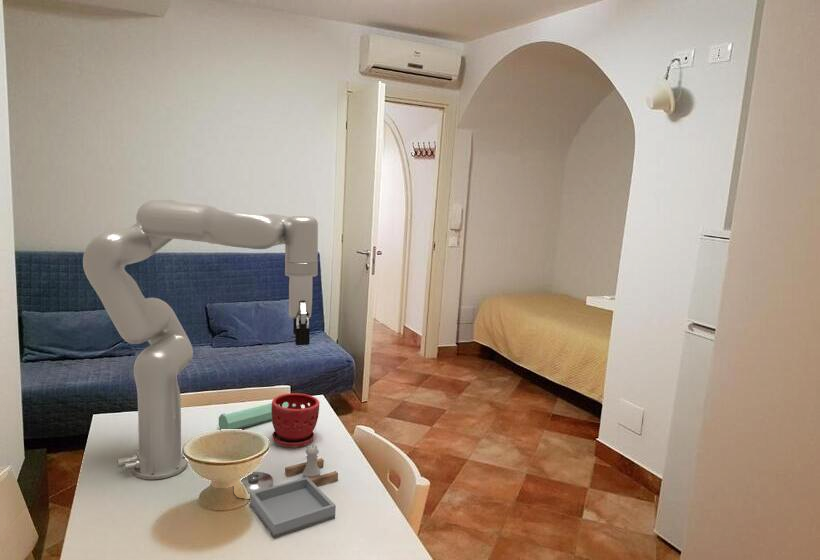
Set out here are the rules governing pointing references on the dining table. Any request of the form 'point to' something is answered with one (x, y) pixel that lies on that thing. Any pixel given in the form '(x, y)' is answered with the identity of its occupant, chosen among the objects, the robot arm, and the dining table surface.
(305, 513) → the tray
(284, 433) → the plant pot
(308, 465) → the rook chess piece
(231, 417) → the mint green rod
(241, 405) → the dining table surface
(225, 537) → the dining table surface
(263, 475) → the pulley
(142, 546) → the dining table surface
